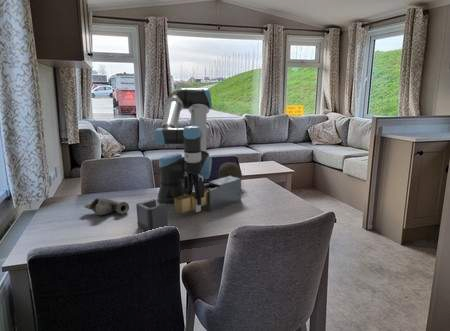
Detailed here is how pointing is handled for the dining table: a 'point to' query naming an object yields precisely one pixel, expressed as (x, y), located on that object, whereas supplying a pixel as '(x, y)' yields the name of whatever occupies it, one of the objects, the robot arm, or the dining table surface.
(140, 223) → the socket
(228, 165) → the cantaloupe
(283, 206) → the dining table surface
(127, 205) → the pipe
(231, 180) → the sleeve
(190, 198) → the bar
